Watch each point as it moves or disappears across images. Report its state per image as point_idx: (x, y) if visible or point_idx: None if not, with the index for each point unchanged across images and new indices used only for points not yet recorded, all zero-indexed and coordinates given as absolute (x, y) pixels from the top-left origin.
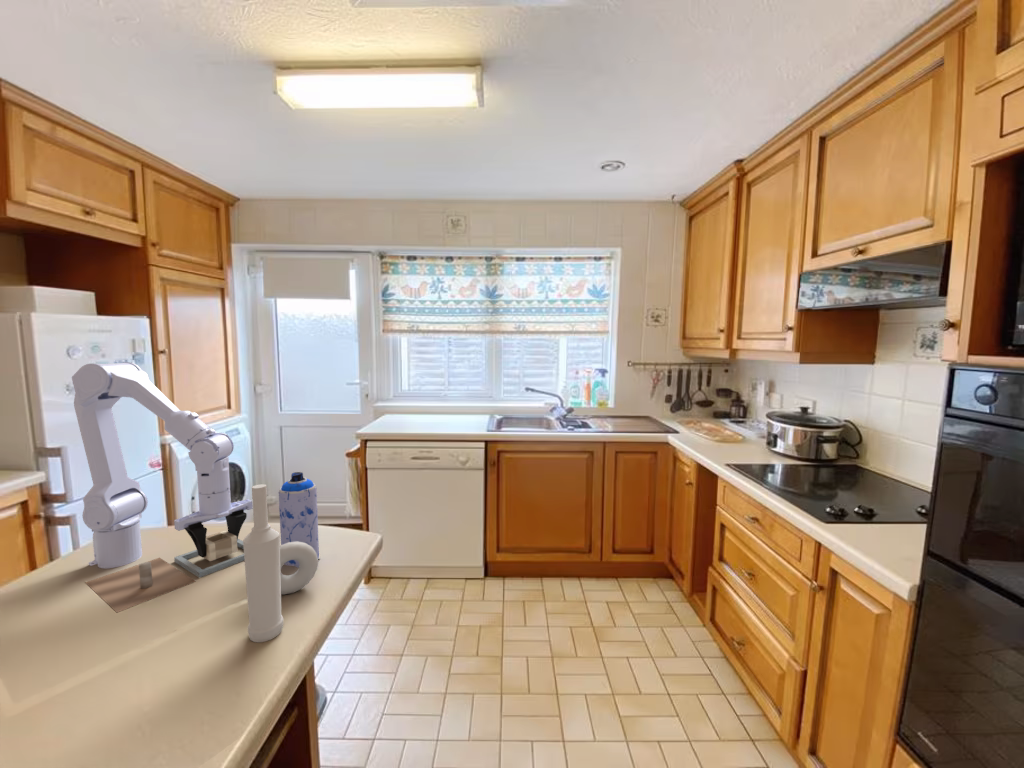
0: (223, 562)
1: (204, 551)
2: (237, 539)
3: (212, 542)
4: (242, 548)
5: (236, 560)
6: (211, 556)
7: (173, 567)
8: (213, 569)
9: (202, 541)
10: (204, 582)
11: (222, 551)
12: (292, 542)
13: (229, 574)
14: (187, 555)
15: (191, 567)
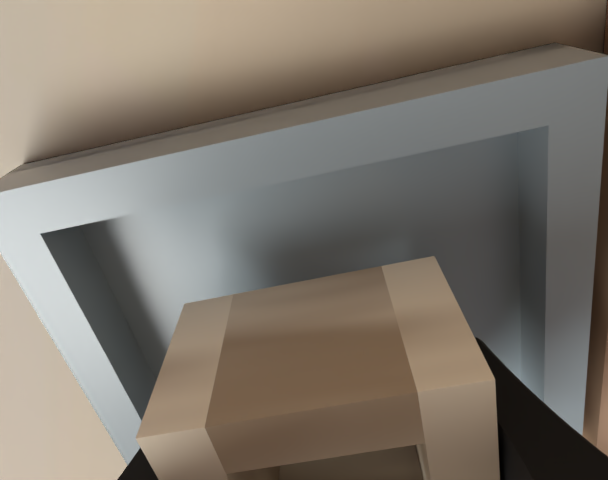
0: (344, 144)
1: None
2: None
3: (428, 438)
4: (144, 379)
5: (219, 138)
6: (432, 282)
7: (606, 391)
8: (450, 87)
9: (582, 476)
10: (527, 9)
11: (321, 311)
12: None
13: (312, 11)
14: None
15: (591, 247)
